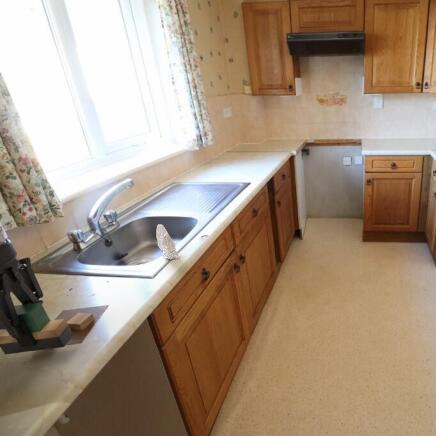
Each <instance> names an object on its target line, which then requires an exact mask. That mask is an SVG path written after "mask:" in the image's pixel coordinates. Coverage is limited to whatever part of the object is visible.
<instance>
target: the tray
mask: <svg viewBox="0 0 436 436" xmlns="http://www.w3.org/2000/svg"><path fill="white" fill-rule="evenodd" d="M109 306H110V305H109V304H106V305H105V304H104V305H96V306H89V307H80V308H70V309H63V310H62V311H61V312H60V313H59V314H58V315H57V316H56V317H55V318H54V320H58V319H65V320H66V322H68V321H69V320H70V319H71V318H73V317H74V316H75V315H76V314H77V313H92V314H93V317H94V320H93V321H92V322H91V323H90V324H89V325H88V326H87V327H86V328H85V329H83V330H71V332H72V334H73V336H72V337H71V339H70V340H69V341H68V343H67V344H66V345H65V346H71V345H77V344H78V345H79V344H83V342H84V340H85V339H86V338H87V336H88V335H89V334H90V333H91V331H92V329H93V328H94V327H95V326H96V324H97V322H99V320H100V318H101V317H102V316H103V315H104V313H105V312H106V310H107V309H108V308H109Z"/></svg>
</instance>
